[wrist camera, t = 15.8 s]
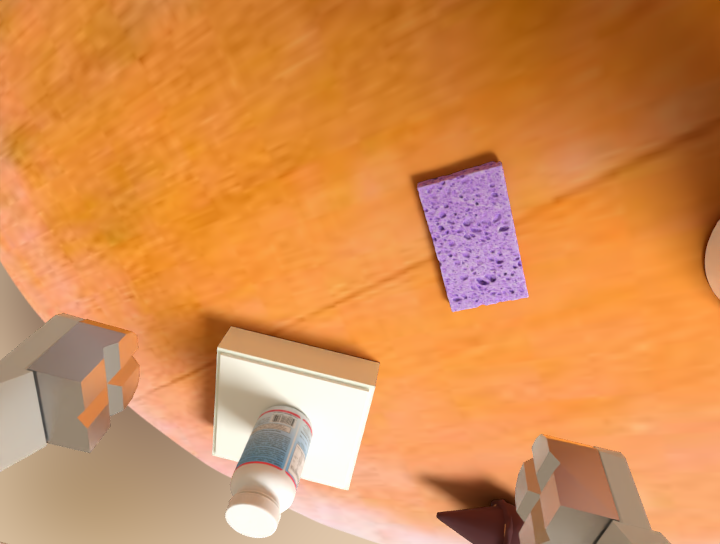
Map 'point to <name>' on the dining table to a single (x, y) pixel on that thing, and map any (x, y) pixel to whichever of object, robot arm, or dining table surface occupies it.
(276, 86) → the dining table surface
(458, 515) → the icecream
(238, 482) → the pill bottle
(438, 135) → the dining table surface
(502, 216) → the sponges
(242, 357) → the base block
